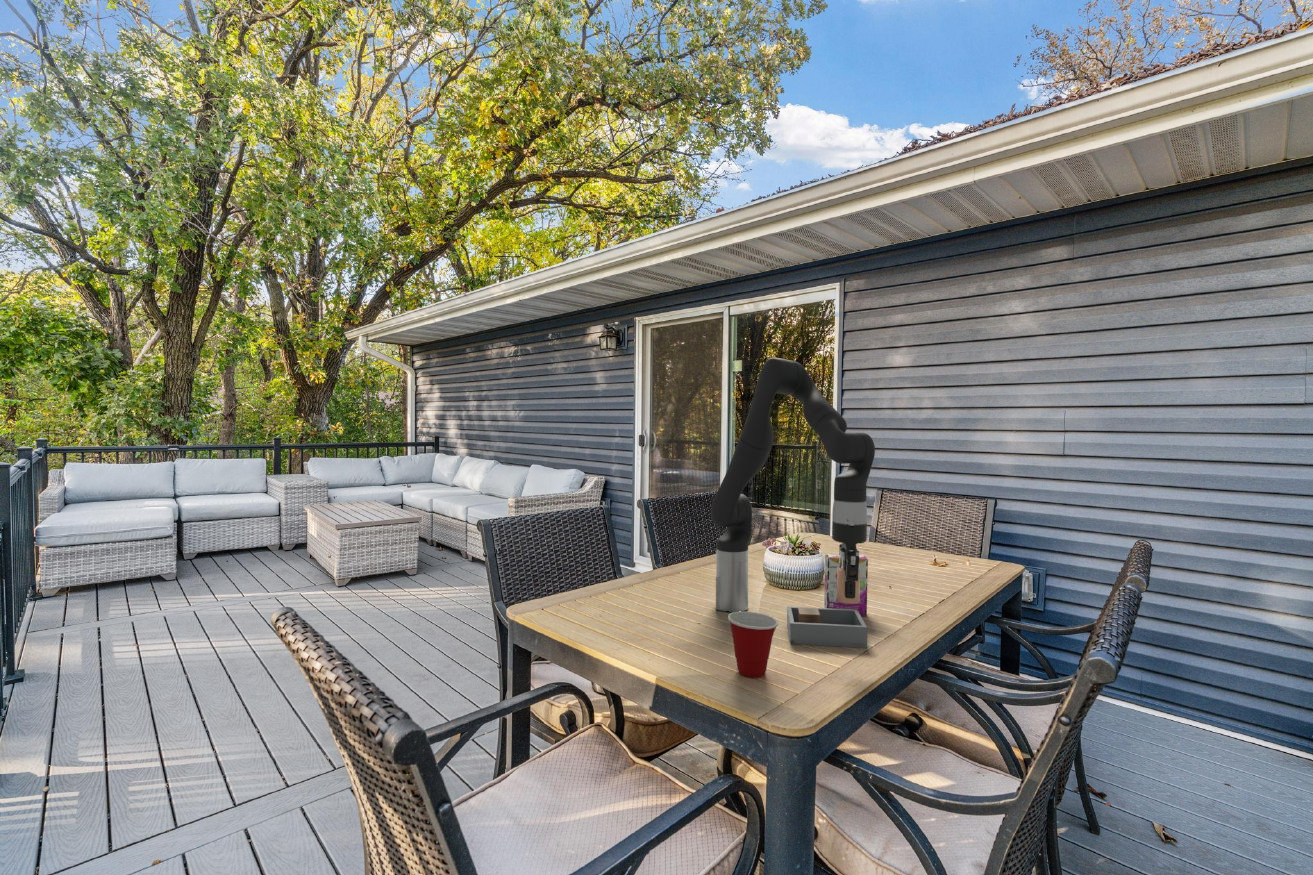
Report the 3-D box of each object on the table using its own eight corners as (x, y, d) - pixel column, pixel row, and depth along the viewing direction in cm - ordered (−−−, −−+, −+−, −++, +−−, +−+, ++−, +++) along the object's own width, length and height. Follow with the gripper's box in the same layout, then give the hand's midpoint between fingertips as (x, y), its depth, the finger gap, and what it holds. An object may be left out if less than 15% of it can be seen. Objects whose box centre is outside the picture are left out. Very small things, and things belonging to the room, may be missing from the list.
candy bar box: (827, 615, 169) (827, 557, 169) (823, 610, 174) (824, 553, 174) (868, 616, 168) (868, 558, 168) (863, 611, 173) (864, 554, 173)
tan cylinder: (838, 602, 135) (838, 572, 135) (835, 596, 140) (835, 566, 140) (861, 604, 135) (861, 573, 134) (857, 597, 139) (858, 567, 139)
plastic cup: (784, 682, 125) (784, 624, 125) (733, 684, 124) (733, 626, 124) (770, 662, 136) (770, 609, 135) (723, 663, 135) (723, 610, 134)
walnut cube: (799, 633, 151) (799, 613, 151) (798, 627, 156) (798, 608, 156) (819, 634, 150) (820, 614, 150) (817, 628, 155) (818, 609, 155)
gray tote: (790, 643, 147) (790, 623, 147) (786, 625, 161) (787, 606, 161) (867, 647, 144) (867, 627, 144) (857, 628, 158) (857, 609, 158)
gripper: (828, 514, 145) (827, 585, 145) (836, 524, 131) (834, 602, 131) (861, 515, 143) (860, 586, 144) (872, 526, 129) (870, 604, 130)
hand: (848, 594), depth 137 cm, fingers closed on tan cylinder, 5 cm apart
